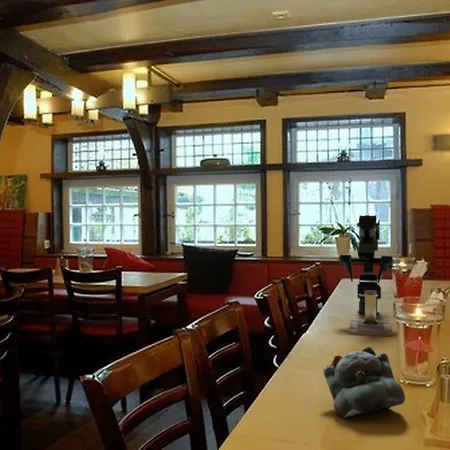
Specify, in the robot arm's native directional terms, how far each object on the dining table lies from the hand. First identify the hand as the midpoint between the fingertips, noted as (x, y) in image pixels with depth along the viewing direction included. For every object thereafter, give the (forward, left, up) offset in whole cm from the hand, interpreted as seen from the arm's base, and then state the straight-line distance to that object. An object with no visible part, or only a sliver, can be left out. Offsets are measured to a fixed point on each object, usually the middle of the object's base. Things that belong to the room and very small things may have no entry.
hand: (364, 282), depth 192 cm
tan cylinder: (+5, +10, -14) cm, 18 cm away
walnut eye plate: (+2, +6, -15) cm, 17 cm away
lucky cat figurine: (+53, +68, -16) cm, 88 cm away
